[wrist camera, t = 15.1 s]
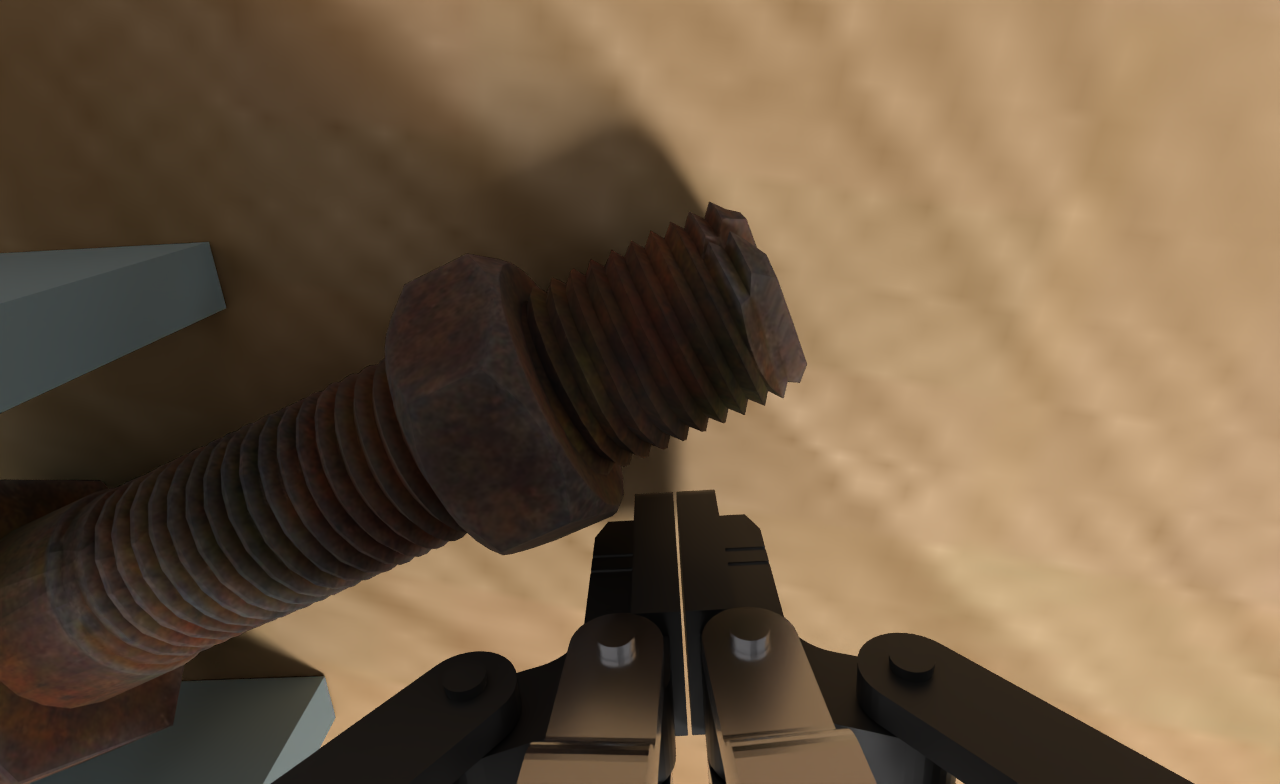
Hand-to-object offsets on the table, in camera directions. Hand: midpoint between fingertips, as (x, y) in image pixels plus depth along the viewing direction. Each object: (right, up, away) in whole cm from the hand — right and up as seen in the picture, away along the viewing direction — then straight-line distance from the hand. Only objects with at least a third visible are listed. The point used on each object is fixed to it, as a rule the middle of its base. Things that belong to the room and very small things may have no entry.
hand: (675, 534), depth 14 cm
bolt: (-5, +2, +1) cm, 6 cm away
